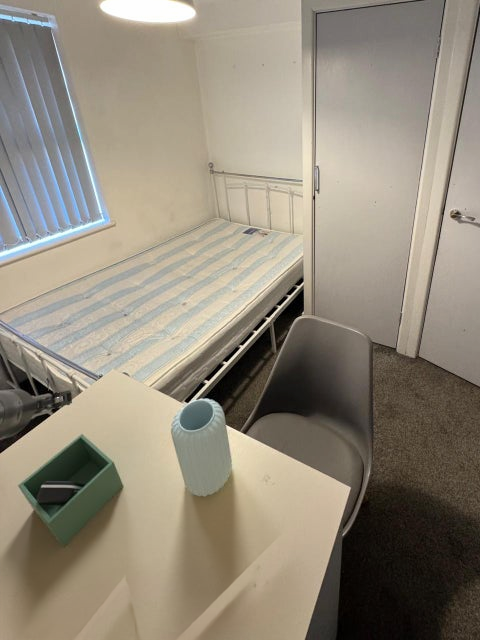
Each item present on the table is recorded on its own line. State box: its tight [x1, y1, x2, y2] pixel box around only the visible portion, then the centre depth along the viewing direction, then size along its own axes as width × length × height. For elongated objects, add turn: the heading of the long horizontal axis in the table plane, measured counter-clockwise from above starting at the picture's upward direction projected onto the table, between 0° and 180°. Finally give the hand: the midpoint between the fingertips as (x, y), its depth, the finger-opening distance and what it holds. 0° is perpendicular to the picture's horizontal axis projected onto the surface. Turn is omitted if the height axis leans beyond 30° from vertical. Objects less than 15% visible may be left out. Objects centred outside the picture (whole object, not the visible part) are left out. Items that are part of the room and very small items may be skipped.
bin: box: [17, 433, 124, 548], centre depth 73 cm, size 13×13×10 cm
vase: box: [170, 397, 233, 497], centre depth 75 cm, size 12×12×22 cm
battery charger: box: [37, 481, 86, 505], centre depth 70 cm, size 7×4×11 cm, turn 91°
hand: (40, 406), depth 65 cm, fingers open, 8 cm apart
